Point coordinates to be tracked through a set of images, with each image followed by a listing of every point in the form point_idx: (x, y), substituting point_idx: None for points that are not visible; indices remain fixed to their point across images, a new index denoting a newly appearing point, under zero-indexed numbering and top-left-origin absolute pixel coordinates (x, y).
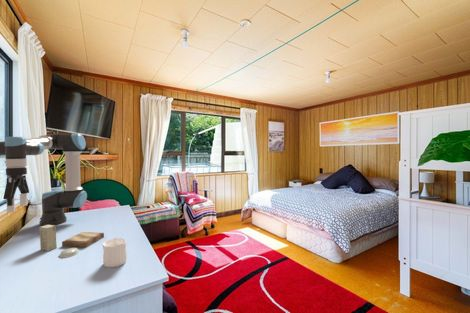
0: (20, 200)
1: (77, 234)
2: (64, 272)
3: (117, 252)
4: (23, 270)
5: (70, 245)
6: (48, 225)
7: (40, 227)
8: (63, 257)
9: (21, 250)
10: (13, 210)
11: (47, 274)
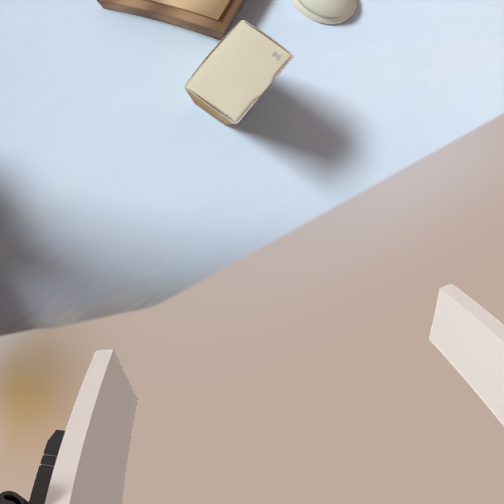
0: (124, 454)
1: (127, 4)
2: (447, 8)
3: None
4: (414, 112)
5: (243, 1)
6: (216, 71)
7: (246, 112)
8: (355, 9)
9: (208, 214)
10: (460, 298)
11: (450, 43)
